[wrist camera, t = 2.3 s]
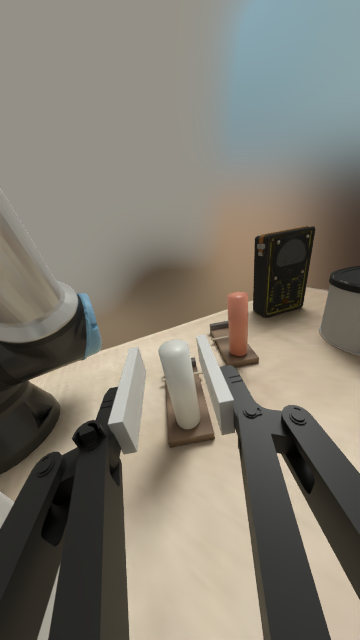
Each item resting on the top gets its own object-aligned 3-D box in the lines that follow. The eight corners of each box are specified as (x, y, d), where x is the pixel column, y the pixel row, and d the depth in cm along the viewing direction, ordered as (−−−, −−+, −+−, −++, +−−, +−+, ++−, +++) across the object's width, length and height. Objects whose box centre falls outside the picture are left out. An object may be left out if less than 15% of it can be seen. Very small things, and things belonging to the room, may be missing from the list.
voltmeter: (265, 319, 57) (270, 234, 46) (249, 310, 64) (250, 235, 53) (306, 308, 59) (320, 224, 48) (286, 300, 67) (294, 227, 56)
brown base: (262, 361, 40) (263, 351, 39) (224, 369, 40) (223, 358, 39) (235, 327, 55) (235, 319, 54) (207, 333, 55) (206, 324, 54)
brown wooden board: (221, 437, 27) (219, 425, 26) (164, 448, 27) (159, 437, 26) (200, 366, 42) (198, 356, 41) (163, 373, 42) (160, 363, 41)
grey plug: (202, 426, 27) (190, 354, 21) (177, 431, 27) (158, 360, 21) (197, 404, 31) (186, 337, 25) (175, 408, 31) (158, 342, 25)
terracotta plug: (250, 354, 40) (251, 296, 34) (233, 357, 40) (231, 300, 34) (243, 344, 44) (243, 290, 38) (227, 347, 44) (224, 294, 38)
